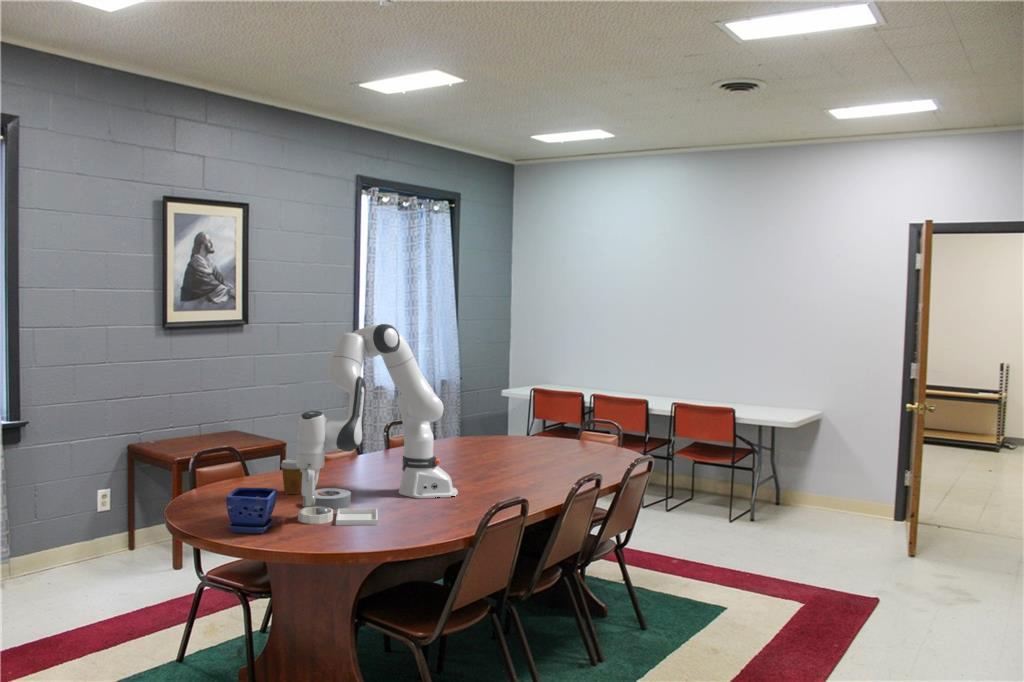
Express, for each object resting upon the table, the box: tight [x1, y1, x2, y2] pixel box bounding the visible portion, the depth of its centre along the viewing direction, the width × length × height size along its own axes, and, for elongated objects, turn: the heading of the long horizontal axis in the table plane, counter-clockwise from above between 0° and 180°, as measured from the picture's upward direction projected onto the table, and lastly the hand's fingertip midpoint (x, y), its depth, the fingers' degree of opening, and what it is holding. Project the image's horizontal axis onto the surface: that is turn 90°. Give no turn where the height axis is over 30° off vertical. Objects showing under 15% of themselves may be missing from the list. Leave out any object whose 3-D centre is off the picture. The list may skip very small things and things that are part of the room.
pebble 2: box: [316, 507, 328, 515], centre depth 273 cm, size 4×4×4 cm
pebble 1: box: [302, 494, 316, 508], centre depth 272 cm, size 4×4×4 cm
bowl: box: [297, 507, 334, 525], centre depth 273 cm, size 11×11×4 cm
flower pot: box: [225, 486, 278, 534], centre depth 261 cm, size 13×13×12 cm
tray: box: [335, 507, 379, 526], centre depth 275 cm, size 13×15×2 cm
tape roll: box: [313, 487, 352, 511], centre depth 292 cm, size 15×15×5 cm
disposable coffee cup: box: [280, 458, 303, 495], centre depth 309 cm, size 10×10×12 cm
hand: (309, 503), depth 272 cm, fingers closed on pebble 1, 4 cm apart
